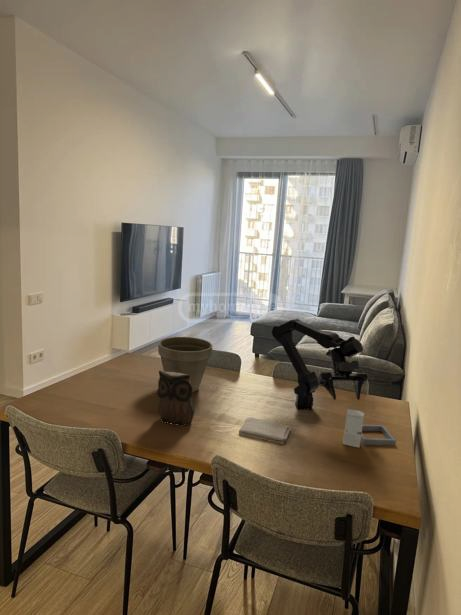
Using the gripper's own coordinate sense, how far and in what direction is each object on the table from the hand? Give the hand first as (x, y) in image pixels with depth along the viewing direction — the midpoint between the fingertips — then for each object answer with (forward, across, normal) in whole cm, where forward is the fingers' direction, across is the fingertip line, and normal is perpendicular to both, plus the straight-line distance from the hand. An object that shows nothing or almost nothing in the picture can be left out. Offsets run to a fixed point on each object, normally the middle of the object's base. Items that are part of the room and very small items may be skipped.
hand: (347, 399), depth 159 cm
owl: (+1, -63, +18) cm, 65 cm away
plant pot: (-22, -60, +41) cm, 76 cm away
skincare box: (+16, 0, +4) cm, 16 cm away
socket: (+12, +10, +7) cm, 17 cm away
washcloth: (+10, -30, +11) cm, 34 cm away
